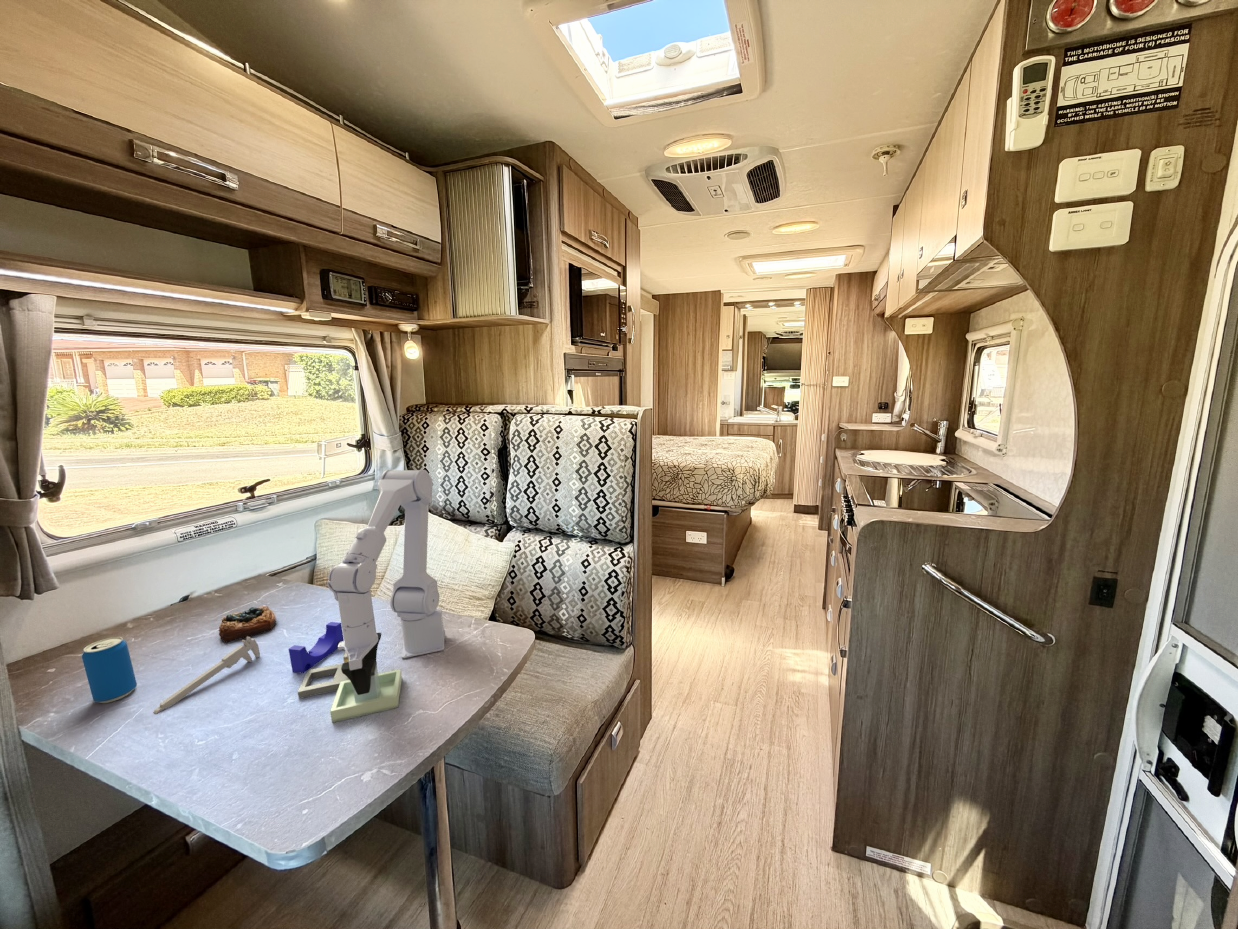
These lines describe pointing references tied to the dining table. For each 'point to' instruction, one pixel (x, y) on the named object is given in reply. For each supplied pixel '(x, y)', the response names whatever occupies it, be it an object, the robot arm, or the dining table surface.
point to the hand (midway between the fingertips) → (366, 681)
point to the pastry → (246, 623)
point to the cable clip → (316, 649)
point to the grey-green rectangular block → (373, 688)
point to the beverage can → (109, 669)
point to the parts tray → (387, 700)
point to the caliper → (214, 671)
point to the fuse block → (323, 687)
